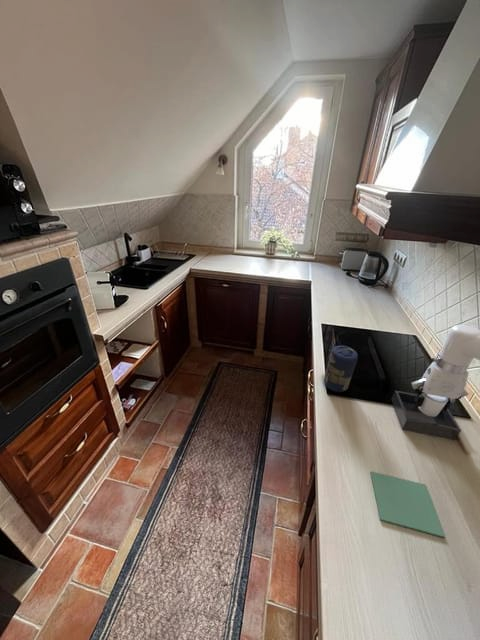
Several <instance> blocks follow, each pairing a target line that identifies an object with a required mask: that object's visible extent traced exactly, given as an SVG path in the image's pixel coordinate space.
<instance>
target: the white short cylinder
mask: <svg viewBox="0 0 480 640" xmlns="http://www.w3.org/2000/svg"><path fill="white" fill-rule="evenodd" d="M447 402H448V398H447V397H440V396H434V395H429V394H427V395H425V396H424V401H423V403H422V405H421V406H420V407H418V408H419V410H420V411H421V412H422V413H424V414H426V415H428V416H432V417H435V416H437V415H438V414H439V412H440V411H441V410H442V408H443V407H444V406H445V404H446V403H447Z"/></svg>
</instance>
